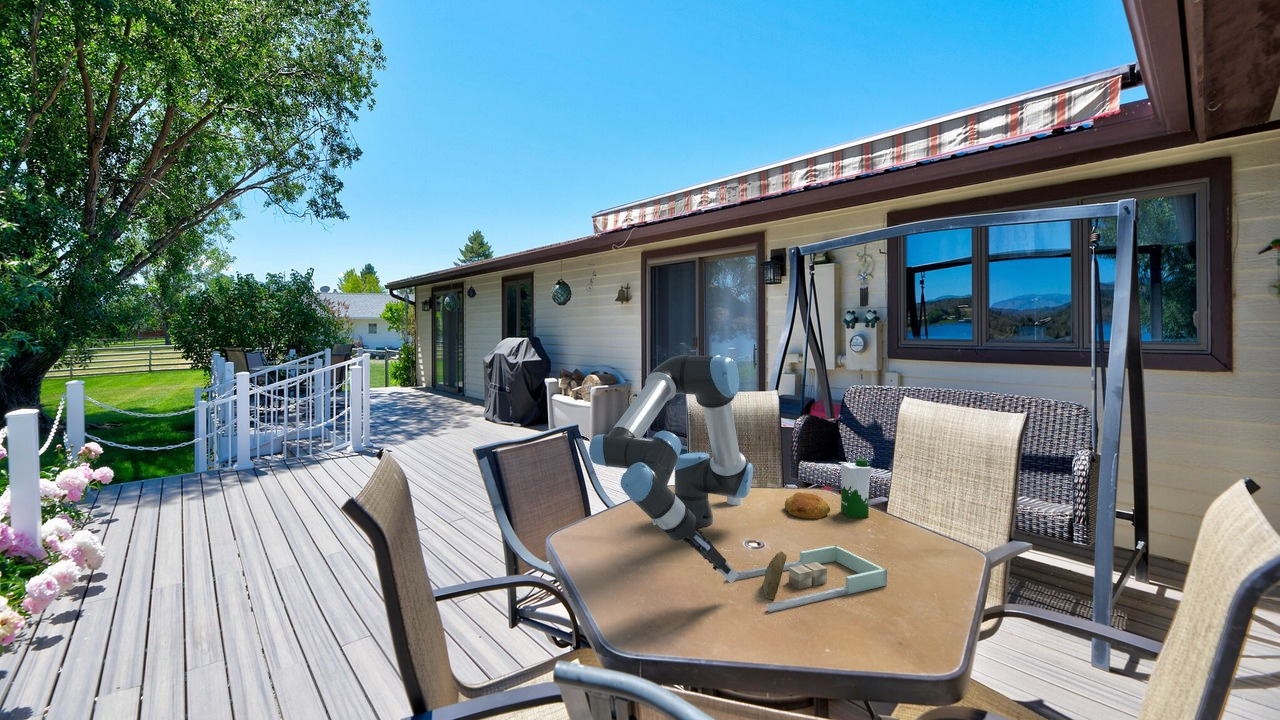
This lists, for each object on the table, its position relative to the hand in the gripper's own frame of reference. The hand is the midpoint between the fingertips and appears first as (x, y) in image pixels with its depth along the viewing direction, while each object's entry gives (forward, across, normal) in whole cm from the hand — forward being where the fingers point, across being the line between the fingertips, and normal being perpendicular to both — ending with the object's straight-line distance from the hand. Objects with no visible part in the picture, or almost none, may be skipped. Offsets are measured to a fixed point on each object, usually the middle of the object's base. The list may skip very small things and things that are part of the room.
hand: (733, 577), depth 131 cm
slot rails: (+15, 0, +8) cm, 17 cm away
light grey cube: (+18, 0, +11) cm, 21 cm away
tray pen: (+28, 0, +21) cm, 35 cm away
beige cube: (+22, 0, +14) cm, 26 cm away
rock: (+12, 0, +4) cm, 12 cm away
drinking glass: (+35, -66, +28) cm, 79 cm away
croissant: (+47, -46, +40) cm, 77 cm away
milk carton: (+58, -38, +51) cm, 87 cm away
